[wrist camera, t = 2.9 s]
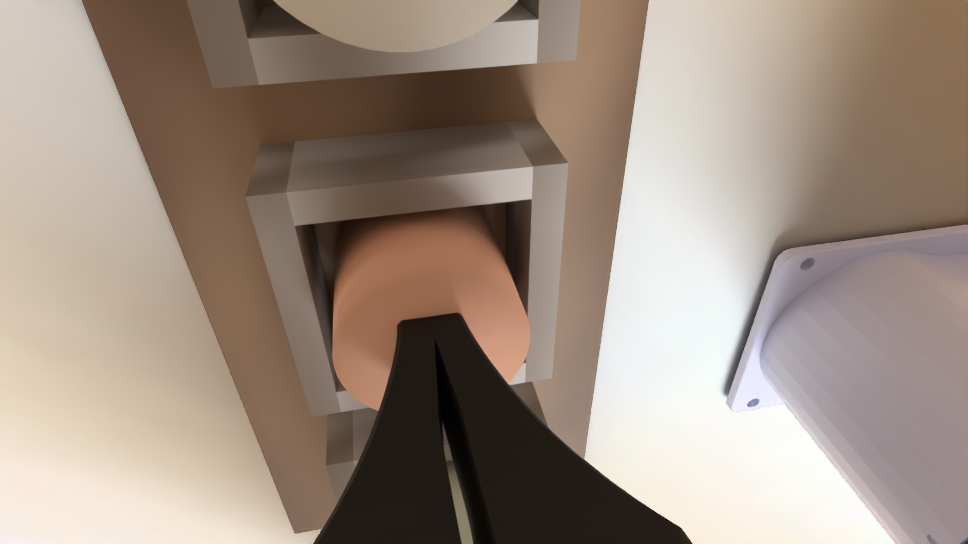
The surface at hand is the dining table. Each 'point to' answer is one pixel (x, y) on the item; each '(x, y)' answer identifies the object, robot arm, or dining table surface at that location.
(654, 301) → the dining table surface
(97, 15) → the button board
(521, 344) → the terracotta button
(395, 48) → the cream button
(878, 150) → the dining table surface
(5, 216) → the dining table surface
